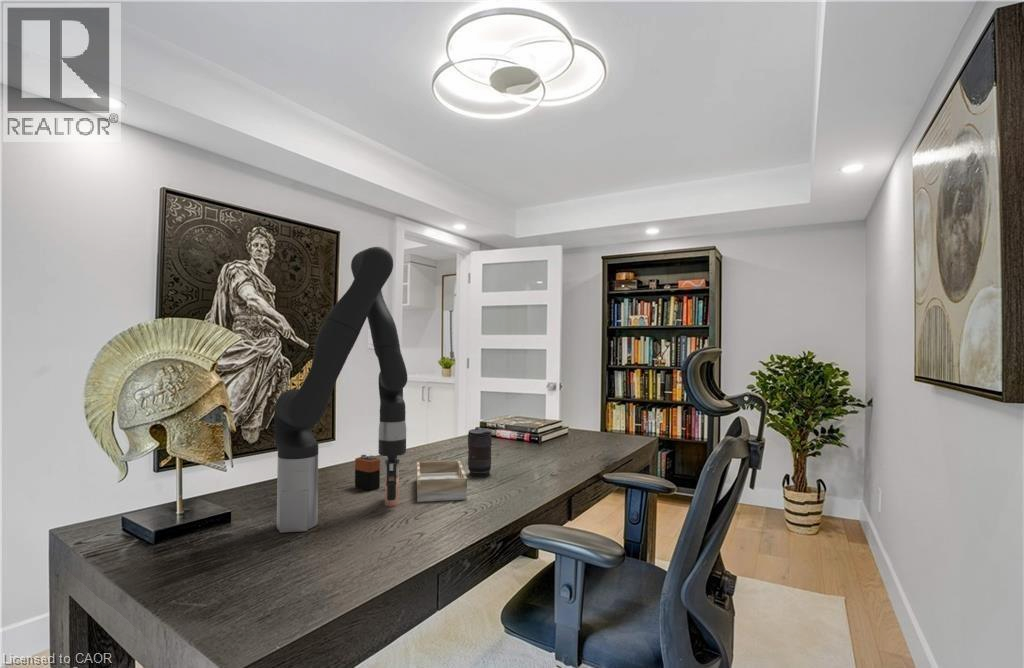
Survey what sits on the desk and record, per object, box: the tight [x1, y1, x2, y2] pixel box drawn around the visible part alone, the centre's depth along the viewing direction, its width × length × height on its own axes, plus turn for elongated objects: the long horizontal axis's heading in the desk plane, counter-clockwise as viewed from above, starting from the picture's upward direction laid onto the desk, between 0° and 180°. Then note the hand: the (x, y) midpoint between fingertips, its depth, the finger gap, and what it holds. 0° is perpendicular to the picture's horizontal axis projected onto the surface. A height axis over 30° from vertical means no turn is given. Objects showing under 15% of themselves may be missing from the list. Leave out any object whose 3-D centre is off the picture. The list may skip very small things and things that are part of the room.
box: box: [416, 460, 468, 503], centre depth 157 cm, size 22×14×6 cm, turn 11°
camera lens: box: [467, 428, 493, 478], centre depth 174 cm, size 8×8×15 cm
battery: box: [354, 454, 381, 492], centre depth 158 cm, size 4×7×10 cm, turn 58°
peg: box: [384, 471, 400, 507], centre depth 142 cm, size 4×4×9 cm
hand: (392, 495), depth 143 cm, fingers open, 8 cm apart
